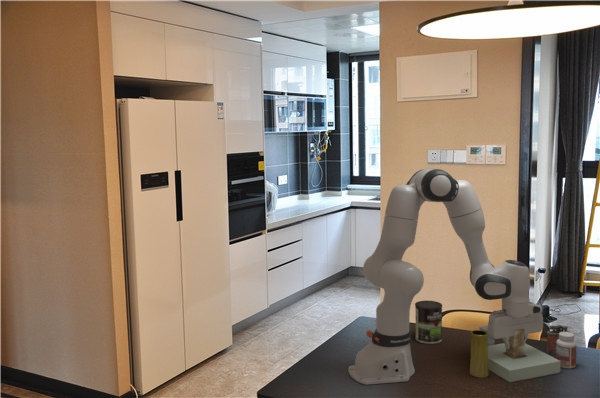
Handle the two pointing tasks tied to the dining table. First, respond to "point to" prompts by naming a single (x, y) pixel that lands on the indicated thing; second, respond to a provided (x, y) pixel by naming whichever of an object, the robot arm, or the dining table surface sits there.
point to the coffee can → (428, 322)
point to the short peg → (490, 340)
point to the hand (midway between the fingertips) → (514, 347)
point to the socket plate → (521, 363)
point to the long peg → (516, 345)
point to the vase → (479, 354)
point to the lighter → (554, 337)
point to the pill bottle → (566, 350)
